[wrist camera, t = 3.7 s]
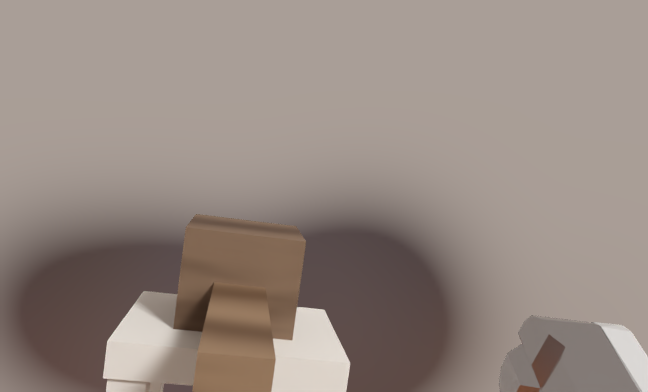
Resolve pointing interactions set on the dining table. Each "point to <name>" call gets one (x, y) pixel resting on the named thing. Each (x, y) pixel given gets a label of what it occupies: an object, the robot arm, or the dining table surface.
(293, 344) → the stool
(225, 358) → the brown long block
